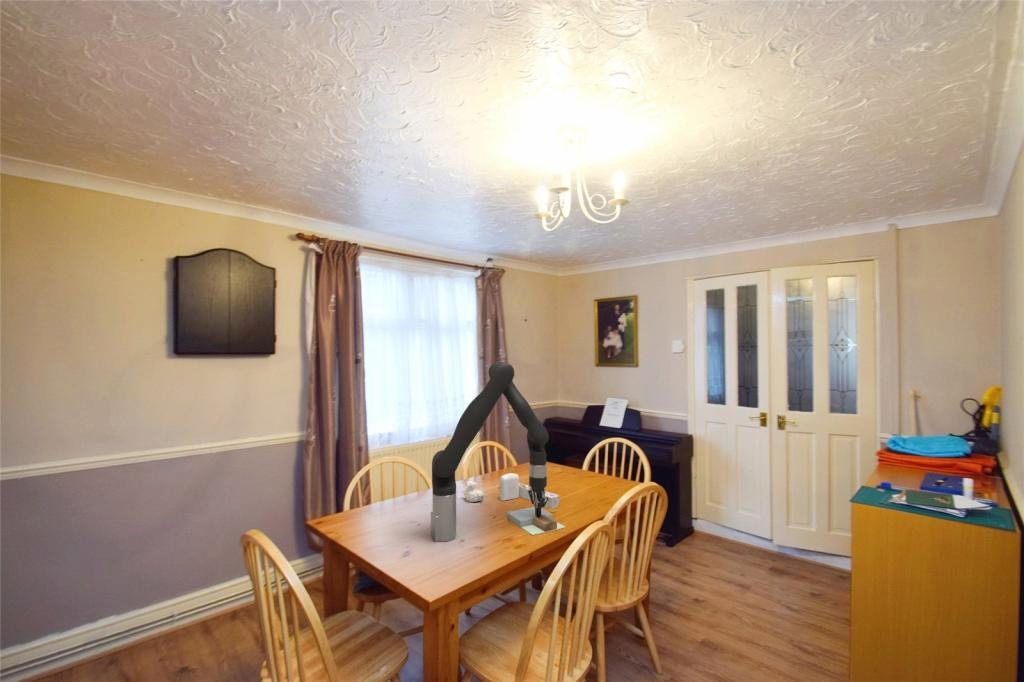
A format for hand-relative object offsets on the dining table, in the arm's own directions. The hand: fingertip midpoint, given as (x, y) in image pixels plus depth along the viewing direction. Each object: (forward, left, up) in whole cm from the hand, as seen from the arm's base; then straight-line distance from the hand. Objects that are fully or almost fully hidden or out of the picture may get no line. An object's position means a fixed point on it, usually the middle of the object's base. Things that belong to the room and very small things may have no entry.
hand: (538, 516), depth 185 cm
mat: (0, -4, -4) cm, 5 cm away
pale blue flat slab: (0, +7, -4) cm, 8 cm away
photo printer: (+5, +35, -4) cm, 36 cm away
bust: (-12, +41, -4) cm, 43 cm away
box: (+15, +27, -4) cm, 31 cm away
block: (+1, -4, -3) cm, 5 cm away
